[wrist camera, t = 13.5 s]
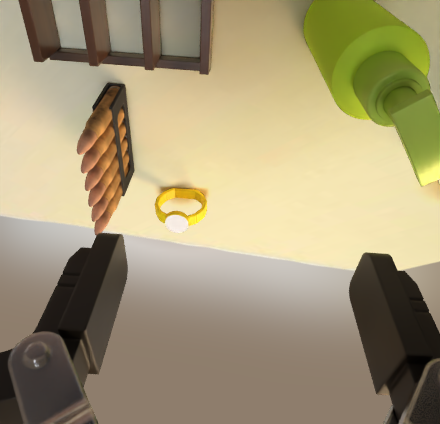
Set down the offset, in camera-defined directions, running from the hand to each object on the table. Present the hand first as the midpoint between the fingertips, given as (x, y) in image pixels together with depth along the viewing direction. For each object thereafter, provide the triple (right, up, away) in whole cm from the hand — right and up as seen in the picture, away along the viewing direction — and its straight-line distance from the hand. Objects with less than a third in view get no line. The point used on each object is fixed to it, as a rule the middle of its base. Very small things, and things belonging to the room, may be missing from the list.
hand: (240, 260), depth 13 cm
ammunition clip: (-12, +11, +28) cm, 33 cm away
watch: (-5, +4, +34) cm, 34 cm away
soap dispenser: (+10, +18, +21) cm, 30 cm away
